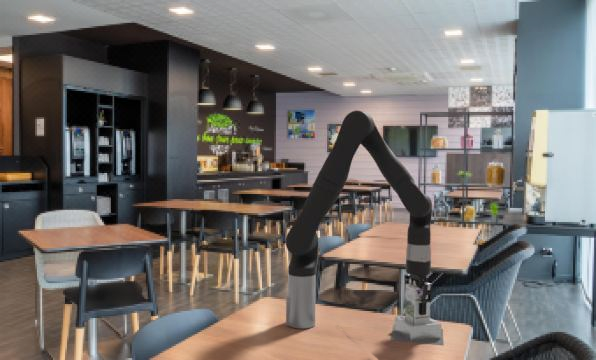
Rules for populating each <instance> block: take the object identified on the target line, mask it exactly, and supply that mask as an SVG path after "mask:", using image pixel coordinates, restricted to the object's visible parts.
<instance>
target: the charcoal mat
mask: <svg viewBox="0 0 596 360" xmlns="http://www.w3.org/2000/svg"><path fill="white" fill-rule="evenodd" d="M389 341H392V342H400V343H401V342H403V343H413V344H414V343H415V344H422V345H423V344H425V345H432V346H433V345H434V346H435V345H436V346H444V345H445V344H444V343H445V342H444V329H443V328H441V339H430V340H420V341H409V340H407V339H406V338H405V337H403V336H402V335H400V334H399V333H398V332H396V331H395V324H393V326H392V330H391V335H390V340H389Z"/></svg>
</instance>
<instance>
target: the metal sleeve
mask: <svg viewBox="0 0 596 360" xmlns="http://www.w3.org/2000/svg"><path fill="white" fill-rule="evenodd" d="M394 325H395V331H396V332H398V333H399V334H400V335H402V336H403V337H405V338H406V339H407V340H409V341H420V340H430V339H441V329H442V323H441V322H439V321H437V320H435V319H433V318H431V317H430V324H419V325H411V324H410V323H408V322H407V321H405V315H398V316H397V315H396V316H394Z"/></svg>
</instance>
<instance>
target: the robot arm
mask: <svg viewBox="0 0 596 360" xmlns="http://www.w3.org/2000/svg"><path fill="white" fill-rule="evenodd" d="M343 118H344V119H343V121H342V123H341V126H340V128H339V131H338V133H337V136H336V138H335V139H336V140H335V142H334V144H333V147H332V148H331V150H330V152H329V153H328V155H327V157H326V158H325V161H324V162H323V164H322V167H321V168H320V170H319V171H318V174H317V176H316V178H315V180H314V182H313V184H312V187H311V189H310V191H309V193H308V195H307V198H306V199H305V203H304V205H303V207H302V209H301V212H300V213H299V215H298V217H297V218H296V220H295V222H294V223H293V225H292V226H291V228H290V229H289V230H288V232H287V235H286V236H285V237H286V238H285V247H286V250H287V251H288V252H289V253H290V254H291V258H290V261H289V265H288V267H287V272H288V273H287V280H288V281H287V296H286V299H285V303H286V305H285V306H286V307H285V327H291V328H293V329H303V330H304V329H310V328H313V327H315V326H316V282H317V281H316V279H317V277H316V276H317V275H316V274H317V273H316V272H317V267H318V266H317V265H318V260H319V259H318V258H319V257H318V256H319V238H318V237H319V236H318V234H317V231H318V228H319V226H320V225H321V223H322V221H323V220H324V218H325V217H326V215H327V214H328V212H330V210H331V209H332V207H333V206H334V205H335V204H336V203H337V200H338V199H339V197H340V196H341V194H342V191H343V190H344V187H345V185H346V183H347V180H348V178H349V173H350V170H351V166H352V161H353V159H354V156H355V154H356V153H357V151H358V148H360V146H363V148H364V149H365V150H366V151H367V153H368V154H369V155H370V156H371V158H372V159H373V161H374V163H375V164H376V166H377V168H378V170H379V171H380V173H381V175H382V177H383V178H384V179H385V181H386V182H387V183H388V184H389V185H390V187H391V188H392V189H393V191H394V192H395V193H396V195H397V196H398V198H399V200H400V202H401V203H402V205H403V206H404V208H405V210H406V211H407V213H409V224H408V227H407V239H406V240H407V242H406V249H405V250H406V251H405V253H406V254H405V256H406V257H405V272H406V273H407V274H404V277H403V278H404V279H403V280H404V290H405V291H404V292H405V294H406V284H411V285H412V284H413V285H414V286H415V287H419V288H420V289H423V292H419V290H417V294H418V295H419V314H420V315H426V304H427V302H430V303H431V302H432V295H433V289H434V288H433V287H434V286H433V283H432V282H431V283H430V282H428V278H427V276H428V275H430V274H431V273H432V271H431V268H432V266H431V264H432V249H431V240H432V239H431V236H432V234H431V223H432V215H433V214H432V212H433V202H432V200H431V198H430V197H429V196H428V195H427V194H425V193H423V191H422V190H421V189H420V188H419V187H418V185H417V184H416V182H415V180H414V178H413V175H411V174H410V172H409V171H408V169H407V168H406V167H405V165H404V164H403V163H402V162H401V160H400V159H399V158H398V157H397V155H395V154H394V152H393V151H392V149H391V148H390V146H389V145H388V144H387V143H386V141H385V139H384V138H383V136H382V135H381V132H380V131H379V129H378V127H377V124H376V123H375V122H374V119H373V118H372V116H371V115H370V114H369V113H367V112H364V111H362V110H359V109H357V110H353V111H350V112H348V113H347V115H346V116H345V117H343ZM421 295H422V297H421ZM427 295H428V298H427Z"/></svg>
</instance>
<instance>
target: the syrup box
mask: <svg viewBox="0 0 596 360" xmlns="http://www.w3.org/2000/svg"><path fill="white" fill-rule="evenodd" d="M417 290H419V292H423V289H420V288H419V287H415V286H414V285H413V284H412V285H411V284H406V293H405V308H404V309H405V310H404V314H405V315H404V316H405V321H407V322H408V323H410V324H411V325H419V324H430V318H431V316H430V315H431V312H430V311H431V310H430V309H431V308H430V307H431V302H427V304H426V315H420V314H419V295H418V294H417ZM421 297H422V295H421ZM427 298H428V295H427Z"/></svg>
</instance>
